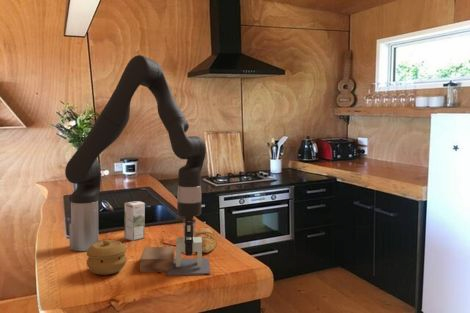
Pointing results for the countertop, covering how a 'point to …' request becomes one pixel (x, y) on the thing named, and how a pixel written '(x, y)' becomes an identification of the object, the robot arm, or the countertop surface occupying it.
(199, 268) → the felt pad
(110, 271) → the pot
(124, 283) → the countertop surface
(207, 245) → the croissant
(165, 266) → the tan square slab
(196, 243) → the notched cream block
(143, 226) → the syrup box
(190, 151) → the robot arm
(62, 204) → the countertop surface
